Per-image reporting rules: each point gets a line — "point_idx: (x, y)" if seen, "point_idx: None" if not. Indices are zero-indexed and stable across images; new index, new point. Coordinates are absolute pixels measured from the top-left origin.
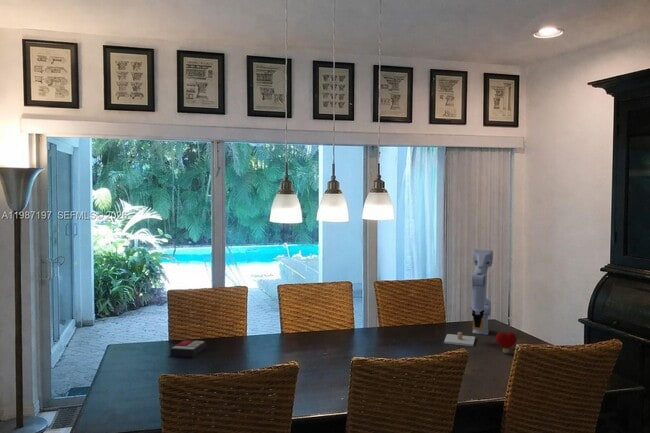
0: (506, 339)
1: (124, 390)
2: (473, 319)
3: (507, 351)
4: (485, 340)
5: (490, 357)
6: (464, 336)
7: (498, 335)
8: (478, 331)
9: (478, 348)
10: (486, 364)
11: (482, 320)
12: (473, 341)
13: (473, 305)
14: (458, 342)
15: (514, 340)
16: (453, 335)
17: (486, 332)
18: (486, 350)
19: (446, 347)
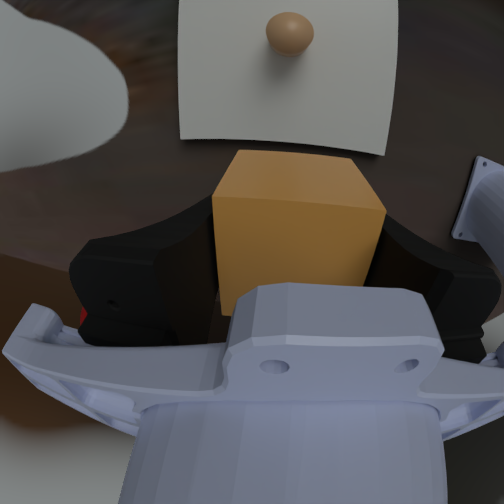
0: None
1: None
2: (219, 208)
3: None
4: None
5: (70, 225)
6: (372, 79)
7: (82, 318)
8: (477, 194)
9: (158, 168)
10: (16, 214)
11: (222, 307)
12: (253, 136)
13: (147, 487)
14: (185, 40)
15: None
16: (373, 6)
17: (471, 233)
18: (144, 209)
19: (109, 5)
